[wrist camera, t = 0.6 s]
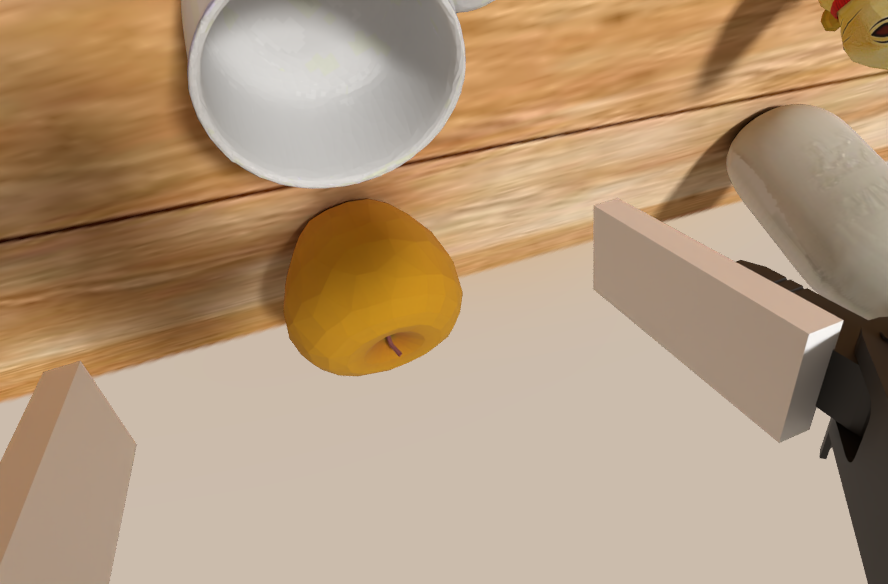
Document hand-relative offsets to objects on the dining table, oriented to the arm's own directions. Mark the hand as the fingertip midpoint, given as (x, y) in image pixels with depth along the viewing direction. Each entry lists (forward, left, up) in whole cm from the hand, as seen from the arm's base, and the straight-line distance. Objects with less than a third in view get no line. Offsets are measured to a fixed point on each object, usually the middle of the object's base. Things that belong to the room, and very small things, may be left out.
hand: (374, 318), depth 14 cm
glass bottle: (+30, +40, -19) cm, 54 cm away
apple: (+22, -1, -19) cm, 29 cm away
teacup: (+2, +3, -19) cm, 19 cm away
